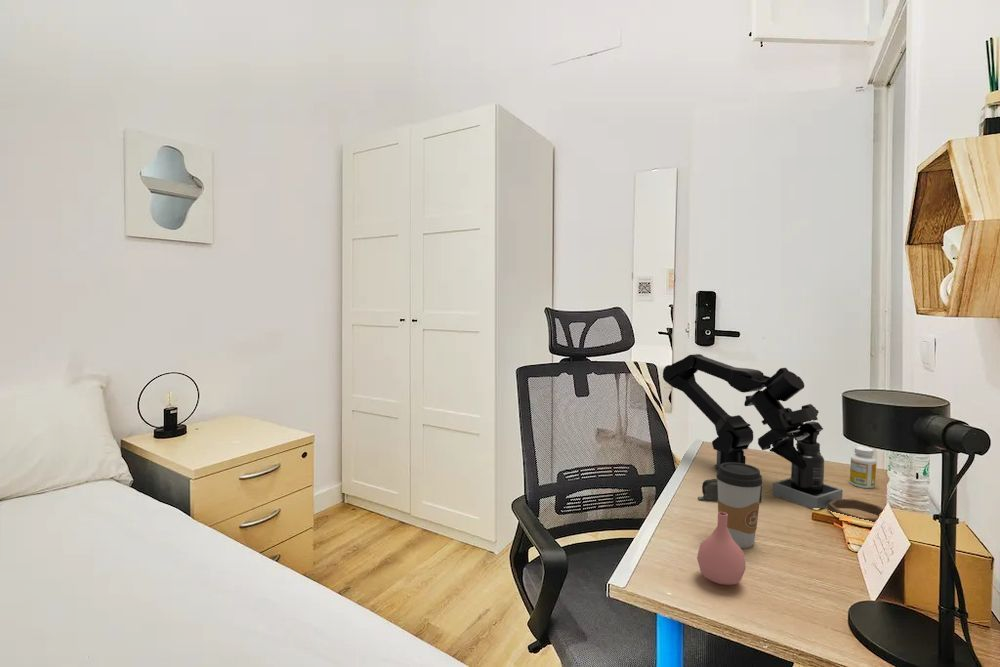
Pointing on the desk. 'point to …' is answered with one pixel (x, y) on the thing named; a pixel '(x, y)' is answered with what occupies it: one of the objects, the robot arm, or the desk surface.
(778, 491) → the tray
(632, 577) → the desk surface
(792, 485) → the supplement bottle
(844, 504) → the brown shallow dish
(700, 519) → the desk surface
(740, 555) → the pink vase
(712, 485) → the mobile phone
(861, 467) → the supplement bottle
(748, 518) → the coffee cup
